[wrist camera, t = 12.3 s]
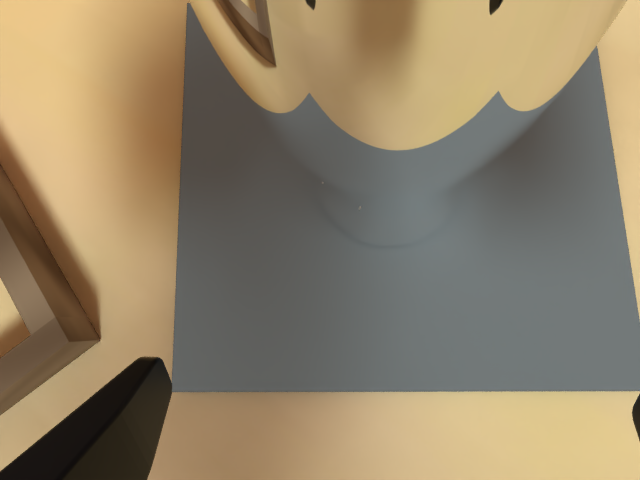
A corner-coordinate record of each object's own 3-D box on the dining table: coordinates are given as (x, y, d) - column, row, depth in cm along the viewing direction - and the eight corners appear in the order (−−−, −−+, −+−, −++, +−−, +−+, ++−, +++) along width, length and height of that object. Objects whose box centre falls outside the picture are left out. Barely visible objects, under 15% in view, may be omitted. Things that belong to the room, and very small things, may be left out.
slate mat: (643, 389, 16) (650, 391, 16) (176, 390, 18) (171, 392, 18) (579, -37, 20) (583, -44, 19) (190, 9, 22) (187, 3, 21)
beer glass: (331, 85, 20) (185, -618, 5) (492, 116, 18) (930, -700, 4) (286, 233, 19) (-65, -94, 4) (452, 278, 17) (832, 37, 3)
